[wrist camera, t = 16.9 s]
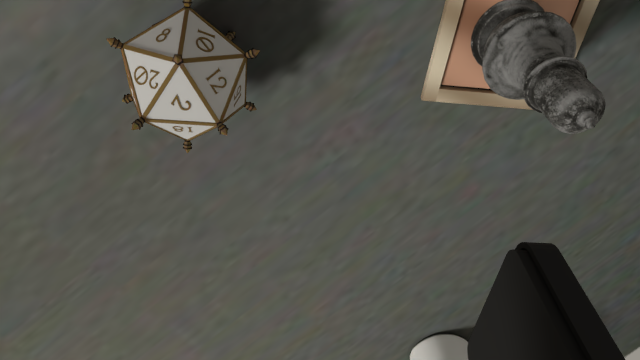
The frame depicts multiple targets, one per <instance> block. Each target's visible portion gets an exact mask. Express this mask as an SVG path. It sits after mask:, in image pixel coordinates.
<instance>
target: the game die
mask: <svg viewBox="0 0 640 360" xmlns="http://www.w3.org/2000/svg"><path fill="white" fill-rule="evenodd" d="M183 3H184V8H182V9H180V10H179V11H177V12H175V13H174V14H172V15H170V16H169V17H167V18H165V19H163V20H162V21H160V22H158V23H157V24H155V25H152V27H150V28H148V29H147V30H145V31H143V32H142V33H140V34H138V35H137V36H135V37H133V38H132V39H130V40H128V41H127V42H125V43H121V42H120V40H119V39H118V40H117V39H116V38H115V37H114V38H108V39H107V41H108V42H109V44H110V45H111V47H112V46H113V47H115V49H116V48H120V49H121V52H122V56H123V60H124V65H125V69H126V74H127V78H128V83H129V87H130V92H131V95H130V94H127V95H124V98H123V100H122V101H123V102H126V103H129V102H131V101H134V104H135V107H136V109H137V112H138V114H139V117H140V119H136V120H135V121H134V122H133V123H132V130H136V129H139V130H140V128H141V127H143V124H144V122H145V123H148V124H150V125H152V126H154V127H157V128H159V129H161V130H163V131H166V132H168V133H170V134H173V135H175V136H177V137H179V138H182V139H184V140H185V142H184V144H183V145H184V147H183V148H184V149H185V150H186V152H187V153H188V152H189V151H190V150H191V149H192V147H191V145H192V144H191V142H190V140H192V139H194V138H196V137H198V136H200V135H202V134H204V133H206V132H208V131H210V130H212V129H214V128H216V127H218V131H219V132H220V134H223V135H227V131H228V128H226V125H224V124H223V123H224V122H225V121H227V120H228V119H229V118H230V117H232V116H233V115H234V114H235V113H237V112H238V111H239V110H240V109H241V108H243V107H246V109H247V110H249V111H252V110H257V109H256V108H255V106H254V103H251V102H246V82H247V59H248V58H251V59H253V57H255V58H256V56H257V54H258V53H259V51H260V50H256V49H254V48H253V49H251V50H248V51H247V53H245V52H244V51H243V50H242V49H240V48H239V47H238V46H237V45H235V44H234V43H233V42H232V41H231V40H233V39H234V38H235V32H230V31H228V34H226V36H225V35H223V34H222V33H221V32H220V31H218V30H217V29H216V28H215V27H214V26H212V25H211V24H210V23H209V22H207V21H206V20H205V19H204V18H203V17H201V16H200V15H199V14H198V13H196V12H195V11H194V10H193V9H192V8H191V7H190V6H191V3H192V2H191V0H183Z"/></svg>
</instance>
